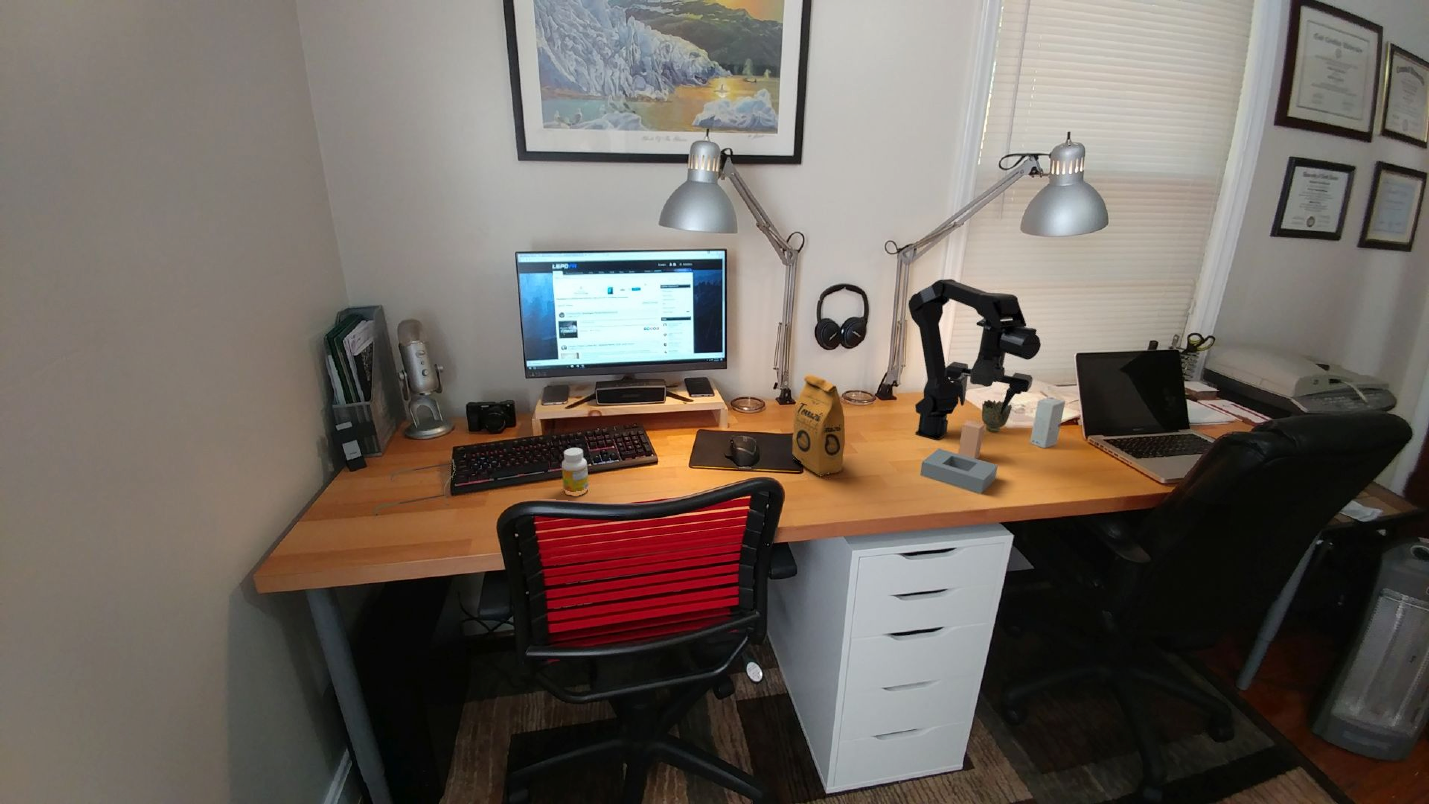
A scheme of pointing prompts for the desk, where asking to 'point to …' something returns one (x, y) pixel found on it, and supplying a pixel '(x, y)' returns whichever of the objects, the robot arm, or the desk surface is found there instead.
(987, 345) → the robot arm
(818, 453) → the coffee package
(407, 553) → the desk surface
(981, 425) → the terracotta peg
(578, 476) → the supplement bottle
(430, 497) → the eyeglasses
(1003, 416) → the cup
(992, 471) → the socket block
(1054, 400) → the skincare box
